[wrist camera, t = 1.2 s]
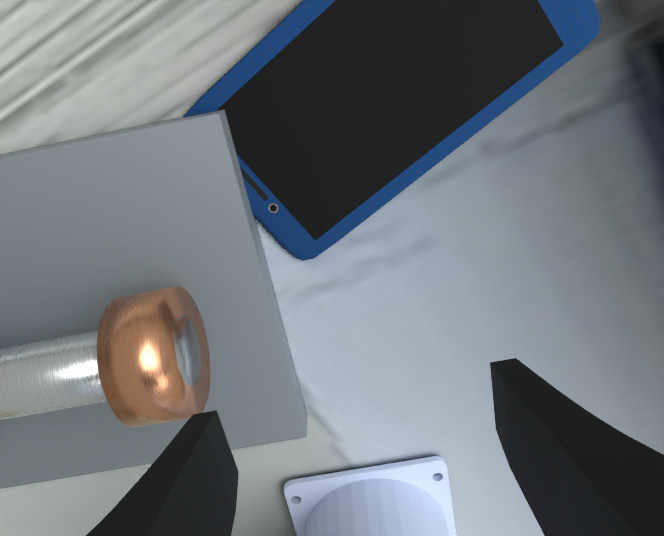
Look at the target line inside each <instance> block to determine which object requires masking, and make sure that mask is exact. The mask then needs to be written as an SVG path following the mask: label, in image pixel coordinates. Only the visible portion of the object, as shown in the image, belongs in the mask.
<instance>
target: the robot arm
mask: <svg viewBox="0 0 664 536" xmlns="http://www.w3.org/2000/svg"><path fill="white" fill-rule="evenodd" d="M490 366H491V377H492V389H493V400H494V412H495V423H496V431H497V433H498V436H499V439H500V442H501V444H502V447H503V450H504V453H505V455H506V458H507V461H508V463H509V466H510V468H511V470H512V472H513V474H514V476H515V478H516V480H517V482H518V484H519V486H520V488H521V490H522V492H523V494H524V496H525V498H526V500H527V502H528V504H529V506H530V508H531V510H532V512H533V514H534V516H535V518H536V519H537V521H538V523H539V525H540V527H541V529H542V531H543V533H544V535H545V536H664V455H663V454H661V453H659V452H657V451H655V450H653V449H651V448H649V447H648V446H646V445H644V444H642V443H640V442H638V441H636V440H634V439H632V438H631V437H629V436H627V435H625V434H624V433H622V432H620V431H618V430H617V429H615V428H613V427H612V426H610V425H609V424H607V423H605V422H604V421H602V420H600V419H599V418H597V417H596V416H594V415H593V414H591V413H590V412H588V411H587V410H585V409H584V408H582V407H581V406H579V405H578V404H576V403H575V402H574V401H572V400H571V399H569V398H568V397H566V396H565V395H564V394H562V393H561V392H560V391H558V390H557V389H555V388H554V387H553V386H551V385H550V384H549V383H547V382H546V381H545V380H544V379H542V378H541V377H540V376H538V375H537V374H536V373H534V372H533V371H532V370H531V369H529V368H528V367H527V366H525V365H524V364H523V363H521V362H520V361H519V360H517V359H516V358H514V359H509V360H503V361H497V362H491V363H490ZM436 473H440V474H438V475H434V474H436ZM237 486H238V470H237V467H236V464H235V461H234V458H233V455H232V452H231V450H230V447H229V444H228V441H227V438H226V435H225V432H224V429H223V427H222V424H221V421H220V418H219V415H218V412H217V410H215V411H209V412H204V413H198V414H193V415H192V416H191V417H190V419H189V420H188V421H187V422H186V423H185V425H184V426H183V427H182V428H181V429H180V431H179V432H178V433H177V434H176V436H175V437H174V438H173V440H172V441H171V442H170V443H169V445H168V446H167V447H166V448H165V450H164V451H163V452H162V453H161V454H160V456H159V457H158V458H157V459H156V460H155V462H154V463H153V464H152V465H151V467H150V468H149V469H148V470H147V471H146V473H145V474H144V475H143V476H142V477H141V478H140V480H139V481H138V482H137V483H136V484H135V485H134V486H133V487H132V488H131V490H130V491H129V492H128V493H127V494H126V495H125V496H124V497H123V498H122V500H121V501H120V502H119V503H118V504H117V505H116V506H115V507H114V508H113V510H112V511H111V512H110V513H109V514H108V515H107V516H106V517H105V518H104V519H103V520H102V521H101V522H100V523H99V524H98V525H97V526H96V527H95V528H94V529H93V530H92V531H91V532H89V533H88V534H87V535H86V536H231V532H232V527H233V522H234V517H235V511H236V500H237ZM284 495H285V499H286V502H287V505H288V508H289V512H290V515H291V518H292V521H293V525H294V528H295V531H296V534H297V536H456V530H455V523H454V515H453V508H452V501H451V494H450V486H449V479H448V472H447V466H446V463H445V460H444V459H443V458H442V457H439V456H433V457H427V458H421V459H415V460H408V461H402V462H396V463H390V464H384V465H378V466H372V467H366V468H360V469H354V470H348V471H342V472H335V473H329V474H323V475H317V476H311V477H305V478H299V479H293V480H289V481H288V482H286V483H285V485H284ZM294 496H298V498H295V497H294Z"/></svg>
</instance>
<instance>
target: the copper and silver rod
mask: <svg viewBox="0 0 664 536" xmlns="http://www.w3.org/2000/svg"><path fill="white" fill-rule="evenodd" d="M209 390H210V355H209V347H208V341H207V336H206V332H205V328H204V324H203V321H202V318H201V315H200V312H199V310H198V308H197V306H196V304H195V302H194V300H193V298H192V297H191V295H190V294H189V293H188V292H187V291H186V290H185V289H184V288H182V287H180V286H175V287H170V288H164V289H159V290H154V291H148V292H143V293H138V294H132V295H127V296H122V297H117V298H115V299H113V300H112V301H111V302H110V303H109V304H108V305H107V307H106V308H105V310H104V312H103V314H102V317H101V320H100V324H99V328H98V331H95V332H89V333H84V334H78V335H73V336H68V337H62V338H57V339H51V340H46V341H40V342H35V343H30V344H24V345H19V346H13V347H8V348H2V349H0V420H5V419H10V418H16V417H22V416H27V415H33V414H39V413H44V412H50V411H56V410H61V409H67V408H73V407H78V406H84V405H90V404H95V403H101V402H108V404H109V406H110V408H111V410H112V411H113V413H114V414H115V416H116V417H117V418H118V419H119V420H120V421H121V422H122V423H123V424H125V425H126V426H129V427H133V428H136V427H142V426H148V425H154V424H159V423H165V422H171V421H177V420H183V419H188V418H190V417H191V416H192V415H193V414H198V413H202V412H203V410H204V408H205V406H206V404H207V400H208V396H209Z"/></svg>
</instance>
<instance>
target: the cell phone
mask: <svg viewBox="0 0 664 536" xmlns="http://www.w3.org/2000/svg"><path fill="white" fill-rule="evenodd" d="M600 23H601V19H600V16H599V13H598V11H597V8H596V5H595V3H594V0H304V1H302V2H301V3H300V4H299V5H298V6H297V7H296V8H295V9H294V10H293V11H292V12H291V13H290V14H289V15H288V16H287V17H285V18H284V19H283V20H282V21H281V22H280V23H279V24H278V25H277V26H276V27H275V28H274V29H273V30H272V31H271V32H269V33H268V34H267V35H266V36H265V37H264V38H263V39H262V40H261V41H260V42H259V43H258V44H257V45H256V46H255V47H253V48H252V49H251V50H250V51H249V52H248V53H247V54H246V55H245V56H244V57H243V58H242V59H241V60H240V61H239V62H238V63H236V64H235V65H234V66H233V67H232V68H231V69H230V70H229V71H228V72H227V73H226V74H225V75H224V76H223V77H222V78H220V79H219V80H218V81H217V82H216V83H215V84H214V85H213V86H212V87H211V88H210V89H209V90H208V91H207V92H206V93H204V94H203V95H202V96H201V97H200V98H199V99H198V100H197V101H196V103H195V104H194V105H193V106H192V107H191V108H190V109H189V111H188V112H187V113H186V114H185V115H184V116H183V117H182V118H184V117H189V116H194V115H199V114H204V113H209V112H214V111H219V110H224V109H225V113H226V117H227V121H228V124H229V128H230V132H231V136H232V140H233V143H234V147H235V151H236V154H237V158H238V162H239V166H240V169H241V173H242V177H243V181H244V184H245V188H246V192H247V196H248V199H249V203H250V207H251V210H252V213H253V215H254V216H255V217H256V218H257V219H258V221H259V222H260V223H261V224H262V225H263V226H264V227H265V228H266V229H267V230H268V231H269V232H270V233H271V235H272V236H273V237H274V238H275V239H276V240H277V241H278V242H279V243H280V244H281V245H282V246H283V247H284V248H285V249H286V250H287V251H288V252H290V253H291V254H292V255H293V256H294V257H296V258H298V259H301V260H307V259H313V258H315V257H316V256H318V255H319V254H321V253H322V252H323V251H325V250H326V249H328V248H329V247H330V246H332V245H333V244H335V243H336V242H337V241H339V240H340V239H341V238H343V237H344V236H345V235H346V234H348V233H349V232H350V231H352V230H353V229H354V228H355V227H357V226H358V225H359V224H360V223H362V222H363V221H364V220H366V219H367V218H368V217H369V216H371V215H372V214H373V213H375V212H376V211H377V210H378V209H380V208H381V207H382V206H383V205H385V204H386V203H387V202H389V201H390V200H391V199H392V198H394V197H395V196H396V195H398V194H399V193H400V192H401V191H403V190H404V189H405V188H407V187H408V186H409V185H410V184H412V183H413V182H414V181H415V180H417V179H418V178H419V177H421V176H422V175H423V174H424V173H426V172H427V171H428V170H430V169H431V168H432V167H433V166H435V165H436V164H437V163H438V162H440V161H441V160H442V159H444V158H445V157H446V156H447V155H449V154H450V153H451V152H453V151H454V150H455V149H456V148H458V147H459V146H460V145H461V144H463V143H464V142H465V141H467V140H468V139H469V138H470V137H472V136H473V135H474V134H476V133H477V132H478V131H479V130H481V129H482V128H483V127H485V126H486V125H487V124H488V123H490V122H491V121H492V120H493V119H495V118H496V117H497V116H499V115H500V114H501V113H502V112H504V111H505V110H506V109H508V108H509V107H510V106H511V105H513V104H514V103H515V102H516V101H518V100H519V99H520V98H522V97H523V96H524V95H525V94H527V93H528V92H529V91H531V90H532V89H533V88H534V87H536V86H537V85H538V84H539V83H541V82H542V81H543V80H545V79H546V78H547V77H548V76H550V75H551V74H552V73H554V72H555V71H556V70H557V69H559V68H560V67H561V66H563V65H564V64H565V63H566V62H568V61H569V60H570V59H571V58H573V57H574V56H575V55H577V54H578V53H579V52H580V51H581V50H582V49H584V48H585V47H586V46H587V45H588V44H589V43H590V42H591V41H592V40H593V39H594V38H595V37H596V36H597V35H598V34H599V29H600Z"/></svg>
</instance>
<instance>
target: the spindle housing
mask: <svg viewBox="0 0 664 536" xmlns="http://www.w3.org/2000/svg"><path fill="white" fill-rule="evenodd" d="M175 286H180V287H182V288H184V289H185V290H186V291H187V292H188V293H189V294H190V295H191V297H192V298H193V300H194V302H195V304H196V306H197V308H198V310H199V312H200V315H201V318H202V321H203V324H204V328H205V332H206V336H207V341H208V347H209V355H210V390H209V396H208V400H207V404H206V406H205V408H204V410H203V412H202V413H204V412H209V411H215V410H217V412H218V415H219V418H220V421H221V424H222V427H223V429H224V432H225V435H226V438H227V441H228V444H229V447H230V450H232V449H238V448H244V447H250V446H256V445H262V444H268V443H274V442H280V441H286V440H292V439H298V438H303V437H306V435H307V412H306V408H305V405H304V401H303V397H302V393H301V389H300V386H299V382H298V378H297V374H296V371H295V367H294V363H293V359H292V355H291V352H290V348H289V344H288V340H287V337H286V333H285V329H284V325H283V321H282V318H281V314H280V310H279V306H278V302H277V299H276V295H275V291H274V287H273V284H272V280H271V276H270V272H269V268H268V265H267V261H266V257H265V253H264V250H263V246H262V242H261V238H260V234H259V231H258V227H257V223H256V219H255V216H254V215H253V213H252V210H251V207H250V203H249V199H248V196H247V192H246V188H245V184H244V181H243V177H242V173H241V169H240V166H239V162H238V158H237V154H236V151H235V147H234V143H233V140H232V136H231V132H230V128H229V124H228V121H227V117H226V113H225V109H224V110H219V111H214V112H209V113H204V114H199V115H194V116H189V117H184V118H182V117H181V118H176V119H171V120H166V121H161V122H156V123H151V124H147V125H142V126H137V127H132V128H127V129H122V130H117V131H113V132H108V133H103V134H98V135H93V136H88V137H84V138H79V139H74V140H69V141H64V142H59V143H54V144H50V145H45V146H40V147H35V148H30V149H25V150H20V151H16V152H11V153H6V154H1V155H0V349H2V348H8V347H13V346H19V345H24V344H30V343H35V342H40V341H46V340H51V339H57V338H62V337H68V336H73V335H78V334H84V333H89V332H95V331H98V328H99V324H100V320H101V317H102V314H103V312H104V310H105V308H106V307H107V305H108V304H109V303H110V302H111V301H112V300H113V299H115V298H117V297H122V296H127V295H132V294H138V293H143V292H148V291H154V290H159V289H164V288H170V287H175ZM189 419H190V418H188V419H183V420H177V421H171V422H165V423H159V424H154V425H148V426H142V427H136V428H133V427H129V426H126V425H125V424H123V423H122V422H121V421H120V420H119V419H118V418H117V417H116V416H115V414H114V413H113V411H112V410H111V408H110V406H109V404H108V402H101V403H95V404H90V405H84V406H78V407H73V408H67V409H61V410H56V411H50V412H44V413H39V414H33V415H27V416H22V417H16V418H10V419H5V420H0V489H1V488H7V487H13V486H19V485H25V484H31V483H37V482H43V481H49V480H55V479H61V478H66V477H72V476H78V475H84V474H90V473H96V472H102V471H108V470H114V469H120V468H126V467H132V466H138V465H143V464H149V463H154V462H155V460H156V459H157V458H158V457H159V456H160V454H161V453H162V452H163V451H164V450H165V448H166V447H167V446H168V445H169V443H170V442H171V441H172V440H173V438H174V437H175V436H176V434H177V433H178V432H179V431H180V429H181V428H182V427H183V426H184V425H185V423H186V422H187V421H188V420H189Z"/></svg>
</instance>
